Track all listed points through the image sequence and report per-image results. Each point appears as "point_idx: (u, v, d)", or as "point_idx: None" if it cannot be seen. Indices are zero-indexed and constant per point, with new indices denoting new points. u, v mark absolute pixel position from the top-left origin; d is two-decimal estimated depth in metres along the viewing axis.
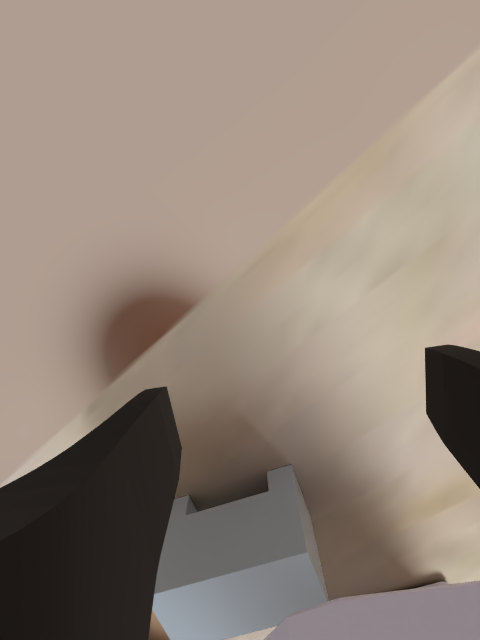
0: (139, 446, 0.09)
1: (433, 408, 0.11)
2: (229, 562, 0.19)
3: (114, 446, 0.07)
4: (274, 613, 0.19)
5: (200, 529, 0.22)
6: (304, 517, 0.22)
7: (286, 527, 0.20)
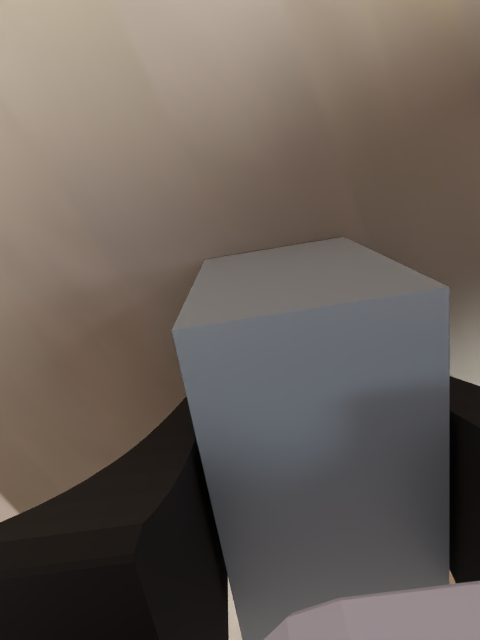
0: None
1: None
2: None
3: None
4: (396, 449, 0.07)
5: None
6: (253, 271, 0.09)
7: None
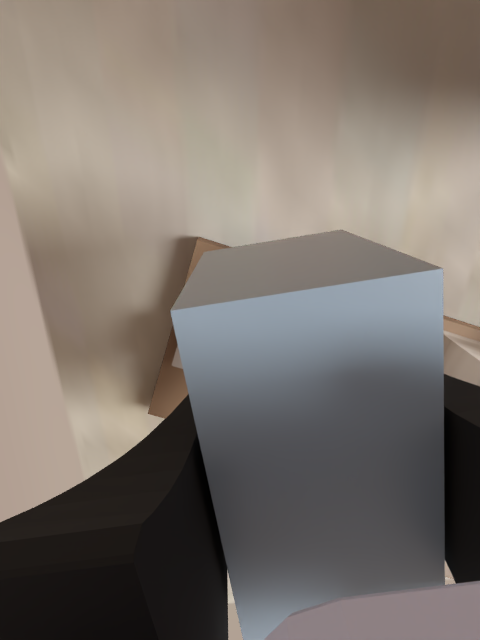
0: None
1: None
2: None
3: (194, 434, 0.07)
4: (391, 431, 0.07)
5: None
6: (251, 260, 0.09)
7: None
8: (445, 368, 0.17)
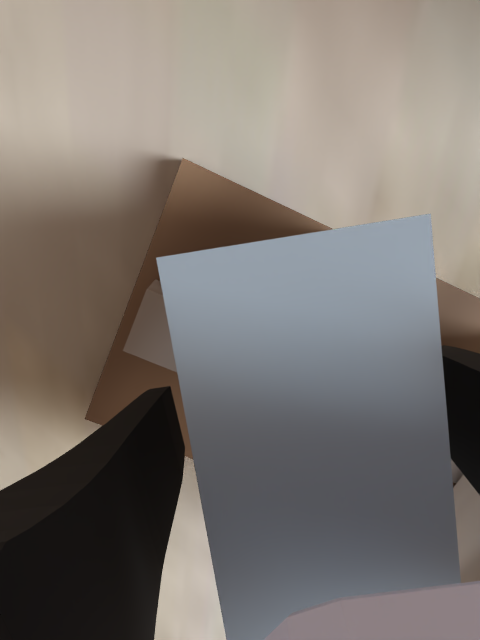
0: (144, 445, 0.09)
1: None
2: None
3: (119, 445, 0.07)
4: (388, 395, 0.06)
5: None
6: None
7: None
8: None
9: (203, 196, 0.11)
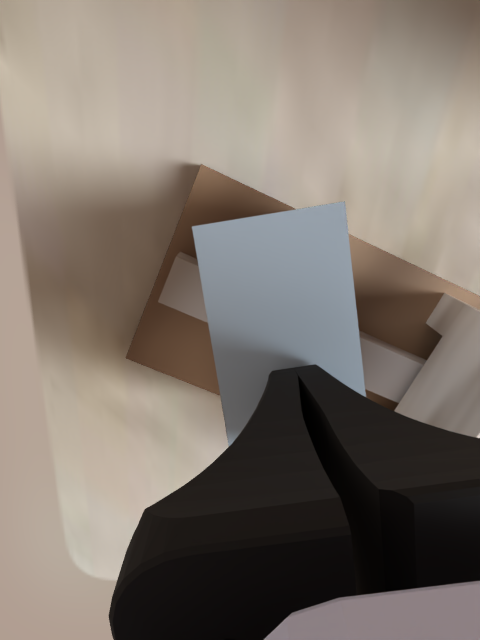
0: None
1: None
2: None
3: (302, 419, 0.07)
4: (323, 305, 0.11)
5: None
6: None
7: None
8: (455, 332, 0.16)
9: (215, 191, 0.16)
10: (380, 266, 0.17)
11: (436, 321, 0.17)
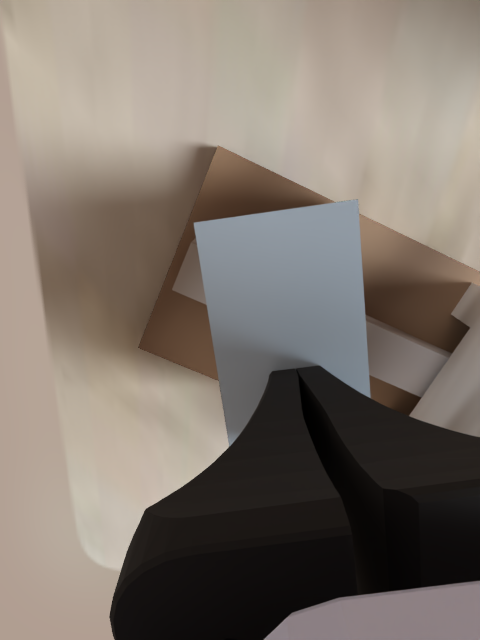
0: None
1: None
2: None
3: (302, 419, 0.07)
4: (329, 311, 0.10)
5: None
6: None
7: None
8: None
9: (232, 174, 0.15)
10: (404, 254, 0.16)
11: (462, 312, 0.16)
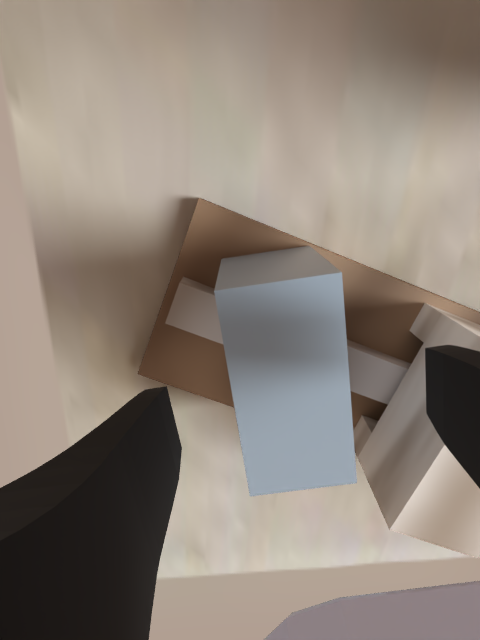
0: (139, 446, 0.09)
1: (433, 408, 0.11)
2: None
3: (114, 446, 0.07)
4: (321, 352, 0.13)
5: None
6: (252, 265, 0.16)
7: None
8: (434, 340, 0.17)
9: (212, 221, 0.18)
10: (364, 282, 0.19)
11: (418, 329, 0.19)
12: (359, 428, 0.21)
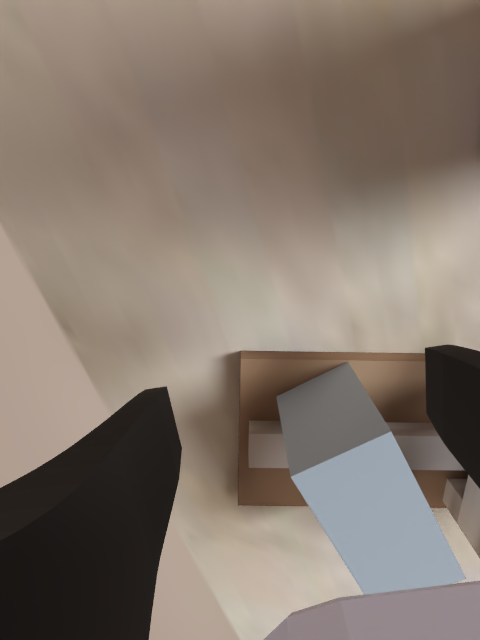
0: (139, 446, 0.09)
1: (433, 408, 0.11)
2: None
3: (114, 446, 0.07)
4: (396, 492, 0.15)
5: None
6: (308, 414, 0.18)
7: None
8: None
9: (258, 371, 0.20)
10: (408, 373, 0.20)
11: None
12: (449, 492, 0.22)
